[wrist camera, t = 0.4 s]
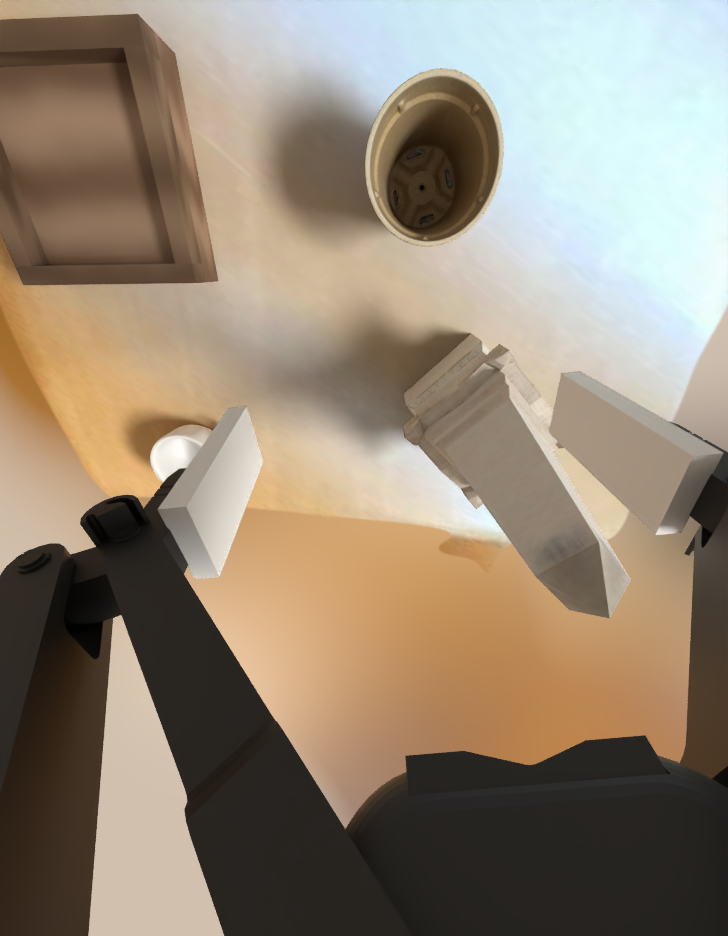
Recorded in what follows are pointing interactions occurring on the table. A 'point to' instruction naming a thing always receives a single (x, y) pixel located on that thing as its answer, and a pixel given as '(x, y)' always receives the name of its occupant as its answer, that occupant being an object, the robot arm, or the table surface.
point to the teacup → (177, 449)
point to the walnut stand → (97, 156)
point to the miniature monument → (514, 470)
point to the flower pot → (434, 157)
